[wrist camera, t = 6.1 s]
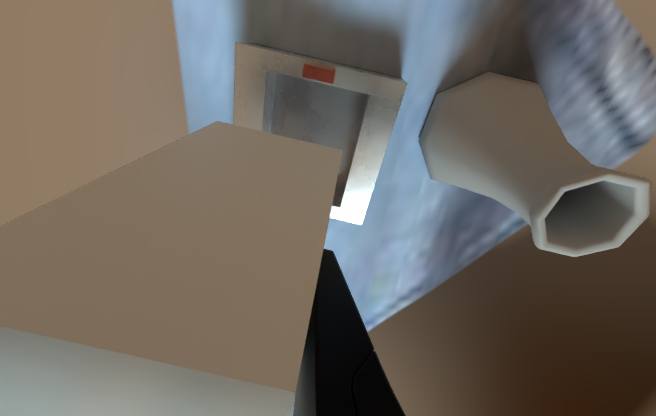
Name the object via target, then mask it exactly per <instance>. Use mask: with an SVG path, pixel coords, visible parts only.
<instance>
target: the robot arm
mask: <svg viewBox="0 0 656 416" xmlns="http://www.w3.org/2000/svg"><path fill="white" fill-rule="evenodd" d="M293 416H406V415H405V413H404V411H403V409H402V407H401V406H400V404H399V402H398V400H397V398H396V396H395V394H394V393H393V390H392V388H391V386H390V383H389V381H388V379H387V377H386V375H385V372H384V370H383V368H382V366H381V363H380V361H379V359H378V356H377V354H376V352H375V351H374V347H373V345H372V342H371V340H370V337H369V336H368V333H367V330H366V328H365V326H364V323H363V321H362V318H361V316H360V314H359V311H358V309H357V307H356V304H355V302H354V299H353V297H352V295H351V292H350V290H349V288H348V285H347V283H346V281H345V278H344V276H343V273H342V271H341V269H340V266H339V264H338V262H337V259H336V257H335V254H334V252H333V251H331V250H327V249H323V254H322V259H321V264H320V269H319V274H318V279H317V285H316V290H315V295H314V300H313V305H312V310H311V315H310V320H309V325H308V331H307V336H306V341H305V346H304V351H303V356H302V361H301V366H300V371H299V377H298V382H297V387H296V393H295V404H294V415H293Z"/></svg>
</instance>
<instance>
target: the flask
mask: <svg viewBox="0 0 656 416" xmlns="http://www.w3.org/2000/svg"><path fill="white" fill-rule="evenodd" d="M419 144H420V147H421V150H422V153H423V156H424V160H425V163H426V166H427V169H428V172H429V175H430V179H433V180H436V181H439V182H443V183H446V184H450V185H454V186H458V187H461V188H464V189H467V190H470V191H473V192H476V193H479V194H482V195H485V196H488V197H491V198H493V199H495V200H497V201H498V202H500V203H502V204H503V205H505V206H507V207H508V208H510V209H512V210H513V211H515V212H517V213H518V214H519V215H520V216H521V217H522V218H523V219H524V220H525V221H526V222H527V223H528V224H529V225H530V226H531V229H532V235H533V241H534V243H535V245H536V246H537V247H538V248H539V249H542V250H547V251H551V252H555V253H559V254H564V255H568V256H572V257H577V256H581V255H585V254H590V253H594V252H599V251H603V250H608V249H612V248H617V247H619V246H620V245H621V244H622V243H623V242H624V241H625V240H626V239H627V238H628V237H629V236H630V235H631V234H632V233H633V232H634V231H635V230H636V229H637V228H638V227H639V226H640V225H641V224H642V222H644V221H645V219H646V218H647V217H648V216H649V211H650V210H649V209H650V197H651V185H652V181H651V180H649V179H647V178H645V177H640V176H636V175H632V174H627V173H623V172H619V171H615V170H611V169H607V168H602V167H597V166H595V165H593V164H591V163H590V162H589V161H588V160H587V159H586V158H584V157H583V156H582V155H581V154H580V153H579V152H578V151H577V150H576V149H575V148H574V147H573V146H571V145H570V144H569V143H568V142H567V140H566V138H565V136H564V134H563V133H562V131H561V129H560V127H559V125H558V123H557V122H556V120H555V118H554V116H553V114H552V113H551V110H550V108H549V106H548V103H547V101H546V99H545V96H544V94H543V92H542V90H541V88H540V86H539V84H538V83H534V82H530V81H526V80H522V79H517V78H513V77H509V76H505V75H501V74H496V73H492V72H487V73H484V74H482V75H480V76H477V77H475V78H473V79H471V80H468V81H466V82H464V83H461V84H459V85H457V86H454V87H452V88H450V89H448V90H445V91H443V92H441V93H438V94H436V97H435V100H434V102H433V105H432V107H431V110H430V113H429V115H428V118H427V120H426V123H425V126H424V128H423V131H422V133H421V136H420V139H419Z"/></svg>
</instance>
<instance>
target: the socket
mask: <svg viewBox="0 0 656 416" xmlns="http://www.w3.org/2000/svg"><path fill="white" fill-rule="evenodd" d="M406 86H407V82H406V81H404V80H403V79H401V78H397V77H393V76H388V75H384V74H380V73H376V72H372V71H367V70H363V69H359V68H355V67H350V66H346V65H342V64H338V63H333V62H329V61H325V60H321V59H316V58H312V57H308V56H304V55H299V54H295V53H291V52H287V51H283V50H278V49H274V48H270V47H266V46H261V45H257V44H253V43H238V42H235V82H234V125H237V126H241V127H245V128H250V129H254V130H258V131H263V132H267V133H271V134H276V135H280V136H284V137H288V138H293V139H297V140H301V141H306V142H310V143H314V144H319V145H323V146H327V147H331V148H336V149H340V150H343V152H342V157H341V162H340V167H339V172H338V177H337V182H336V187H335V192H334V198H333V203H332V208H331V213H330V218H334V219H338V220H342V221H346V222H351V223H355V224H359V225H362V222H363V219H364V216H365V213H366V210H367V207H368V204H369V200H370V197H371V194H372V191H373V188H374V185H375V182H376V179H377V176H378V173H379V170H380V167H381V163H382V160H383V157H384V154H385V151H386V148H387V145H388V142H389V139H390V136H391V133H392V129H393V126H394V123H395V120H396V117H397V114H398V111H399V108H400V105H401V102H402V99H403V95H404V92H405V89H406Z"/></svg>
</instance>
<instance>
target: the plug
mask: <svg viewBox="0 0 656 416" xmlns="http://www.w3.org/2000/svg"><path fill="white" fill-rule="evenodd" d="M342 152H343V150H340V149H336V148H331V147H327V146H323V145H319V144H314V143H310V142H306V141H301V140H297V139H293V138H288V137H284V136H280V135H276V134H271V133H267V132H263V131H258V130H254V129H250V128H245V127H241V126H237V125H233V124H228V123H224V122H220V121H216V122H214V123H212V124H210V125H208V126H206V127H204V128H202V129H200V130H198V131H196V132H193V133H191V134H189V135H187V136H185V137H183V138H181V139H179V140H177V141H175V142H173V143H171V144H169V145H167V146H165V147H162V148H160V149H158V150H156V151H154V152H152V153H150V154H148V155H146V156H144V157H142V158H140V159H138V160H136V161H134V162H131V163H129V164H127V165H125V166H123V167H121V168H119V169H117V170H115V171H113V172H111V173H109V174H107V175H104V176H102V177H100V178H98V179H96V180H94V181H92V182H90V183H88V184H86V185H84V186H82V187H80V188H78V189H76V190H74V191H71V192H69V193H67V194H65V195H63V196H61V197H59V198H57V199H55V200H53V201H51V202H49V203H47V204H44V205H42V206H40V207H38V208H36V209H34V210H32V211H30V212H28V213H26V214H24V215H22V216H20V217H18V218H15V219H13V220H11V221H9V222H7V223H5V224H3V225H1V226H0V416H289V413H290V410H291V406H292V403H293V399H294V396H295V392H296V387H297V382H298V377H299V371H300V366H301V361H302V356H303V351H304V346H305V341H306V336H307V331H308V325H309V320H310V315H311V310H312V305H313V300H314V295H315V290H316V285H317V279H318V274H319V269H320V264H321V259H322V254H323V249H324V244H325V238H326V233H327V228H328V223H329V218H330V213H331V208H332V203H333V198H334V192H335V187H336V182H337V177H338V172H339V167H340V162H341V157H342Z"/></svg>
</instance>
